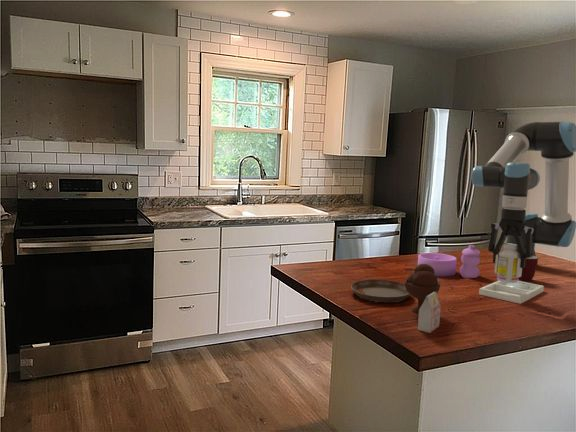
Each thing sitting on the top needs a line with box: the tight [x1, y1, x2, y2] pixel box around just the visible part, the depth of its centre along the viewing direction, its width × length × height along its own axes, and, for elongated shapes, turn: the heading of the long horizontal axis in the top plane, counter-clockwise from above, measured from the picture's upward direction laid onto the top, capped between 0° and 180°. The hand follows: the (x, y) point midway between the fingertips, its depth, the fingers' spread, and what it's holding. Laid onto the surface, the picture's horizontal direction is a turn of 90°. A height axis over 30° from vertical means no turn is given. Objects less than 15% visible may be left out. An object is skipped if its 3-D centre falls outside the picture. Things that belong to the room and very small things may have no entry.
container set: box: [417, 244, 481, 279], centre depth 205 cm, size 25×15×13 cm, turn 51°
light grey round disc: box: [506, 283, 530, 291], centre depth 181 cm, size 8×8×2 cm
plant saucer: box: [350, 278, 411, 304], centre depth 172 cm, size 21×21×3 cm
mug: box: [518, 255, 539, 282], centre depth 196 cm, size 11×8×10 cm
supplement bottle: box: [496, 242, 520, 283], centre depth 172 cm, size 7×7×13 cm
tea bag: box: [417, 292, 442, 334], centre depth 142 cm, size 4×7×10 cm, turn 143°
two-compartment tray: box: [478, 280, 545, 305], centre depth 178 cm, size 22×14×3 cm, turn 135°
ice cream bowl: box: [404, 264, 441, 315], centre depth 155 cm, size 11×11×15 cm
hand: (507, 274), depth 173 cm, fingers closed on supplement bottle, 7 cm apart
